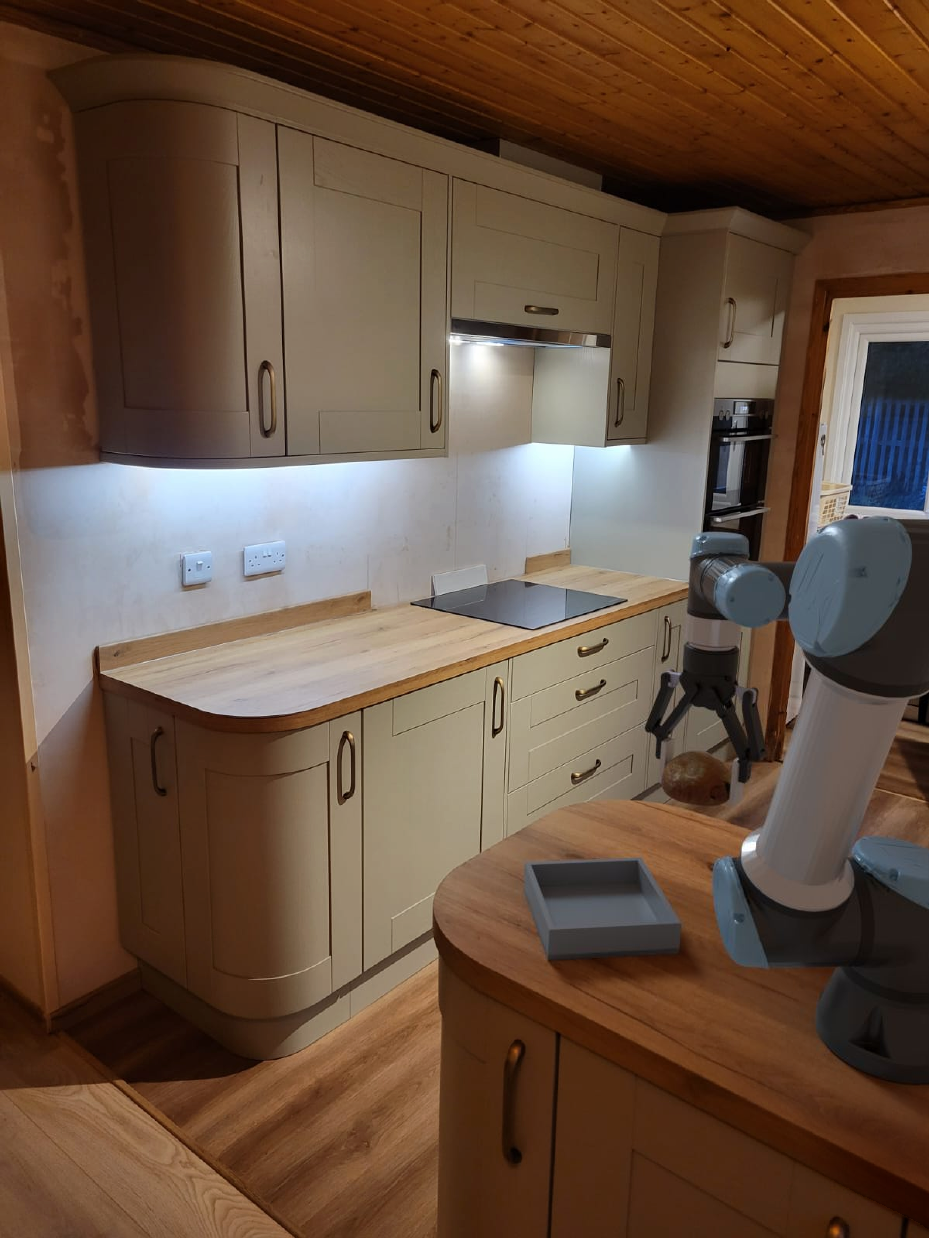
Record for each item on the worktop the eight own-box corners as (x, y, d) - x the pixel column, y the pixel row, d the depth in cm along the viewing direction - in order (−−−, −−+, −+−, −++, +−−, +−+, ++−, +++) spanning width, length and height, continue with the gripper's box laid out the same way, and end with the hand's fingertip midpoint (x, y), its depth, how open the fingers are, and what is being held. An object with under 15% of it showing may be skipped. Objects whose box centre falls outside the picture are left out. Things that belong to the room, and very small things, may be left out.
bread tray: (678, 953, 123) (681, 922, 122) (547, 960, 121) (549, 929, 120) (639, 884, 140) (641, 857, 139) (523, 889, 138) (524, 862, 137)
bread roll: (691, 798, 142) (674, 748, 143) (752, 788, 136) (734, 735, 136) (660, 820, 135) (642, 767, 135) (723, 810, 128) (704, 754, 128)
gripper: (803, 653, 126) (786, 805, 131) (651, 625, 140) (642, 762, 146) (781, 665, 121) (765, 823, 126) (626, 634, 135) (617, 777, 140)
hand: (699, 790), depth 136 cm, fingers closed on bread roll, 10 cm apart
